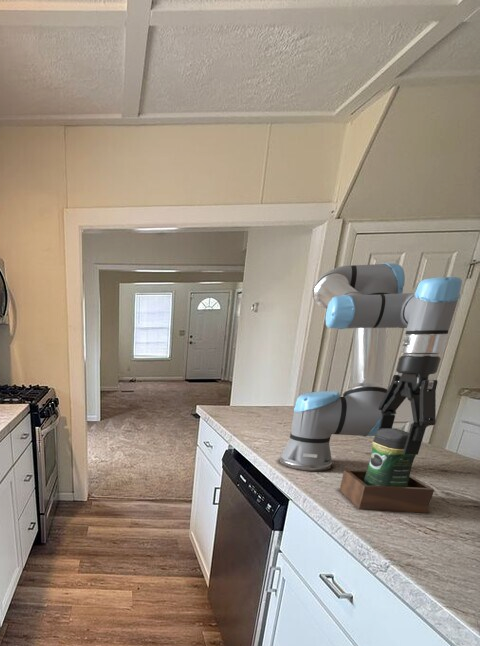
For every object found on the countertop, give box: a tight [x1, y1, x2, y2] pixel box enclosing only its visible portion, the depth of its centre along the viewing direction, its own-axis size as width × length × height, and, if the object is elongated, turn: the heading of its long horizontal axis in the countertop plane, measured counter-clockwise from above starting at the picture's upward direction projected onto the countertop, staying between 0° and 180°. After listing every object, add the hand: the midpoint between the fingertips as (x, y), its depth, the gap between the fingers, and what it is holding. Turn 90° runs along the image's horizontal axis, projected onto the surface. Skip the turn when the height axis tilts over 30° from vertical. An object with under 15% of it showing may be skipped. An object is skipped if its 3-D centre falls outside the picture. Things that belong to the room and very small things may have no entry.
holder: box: [339, 469, 435, 514], centre depth 103 cm, size 13×15×6 cm
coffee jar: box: [363, 427, 417, 487], centre depth 100 cm, size 10×8×19 cm
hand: (395, 446), depth 98 cm, fingers open, 13 cm apart
